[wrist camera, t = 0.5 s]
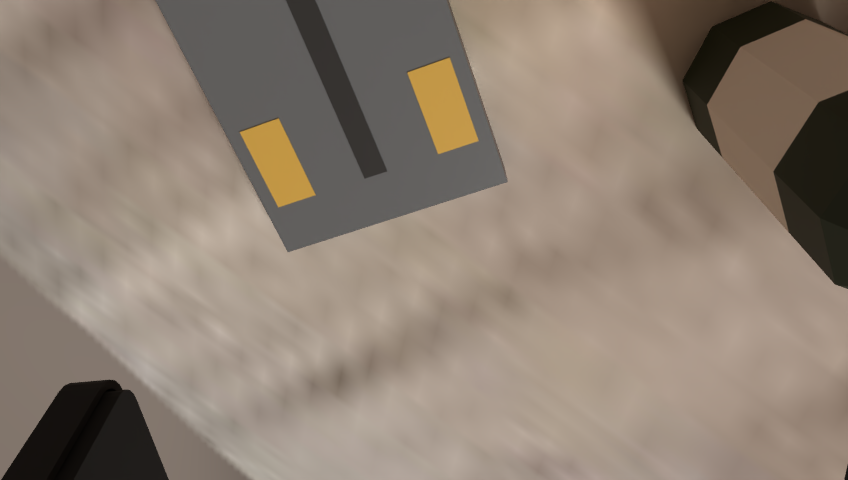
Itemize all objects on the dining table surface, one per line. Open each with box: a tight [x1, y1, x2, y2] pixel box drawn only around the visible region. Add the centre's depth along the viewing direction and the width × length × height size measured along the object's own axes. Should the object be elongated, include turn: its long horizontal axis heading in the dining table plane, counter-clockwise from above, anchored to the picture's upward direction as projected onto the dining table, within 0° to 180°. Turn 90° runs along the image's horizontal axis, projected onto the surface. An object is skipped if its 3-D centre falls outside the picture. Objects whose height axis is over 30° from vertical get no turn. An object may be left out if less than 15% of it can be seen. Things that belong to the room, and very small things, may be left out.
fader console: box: [156, 0, 508, 252], centre depth 39 cm, size 25×14×2 cm, turn 20°
